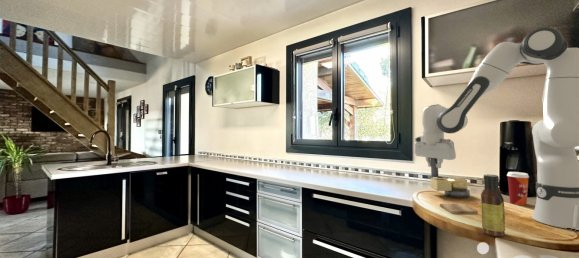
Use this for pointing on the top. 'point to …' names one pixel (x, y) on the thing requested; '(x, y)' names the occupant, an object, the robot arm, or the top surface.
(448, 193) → the chuck base
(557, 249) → the top surface
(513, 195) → the paper cup
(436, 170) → the steel cylinder
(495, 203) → the sauce bottle
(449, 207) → the wooden mat
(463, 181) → the chuck collar
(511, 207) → the top surface
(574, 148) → the robot arm
